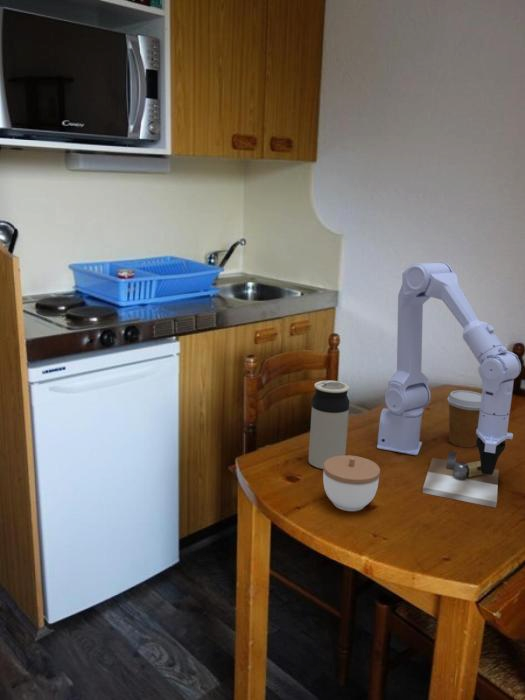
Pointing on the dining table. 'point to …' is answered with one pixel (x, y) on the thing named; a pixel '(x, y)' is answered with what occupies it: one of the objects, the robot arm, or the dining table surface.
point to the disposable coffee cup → (463, 417)
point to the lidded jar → (350, 481)
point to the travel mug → (328, 422)
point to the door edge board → (461, 485)
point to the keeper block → (451, 460)
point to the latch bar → (467, 469)
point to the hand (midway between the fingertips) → (486, 473)
